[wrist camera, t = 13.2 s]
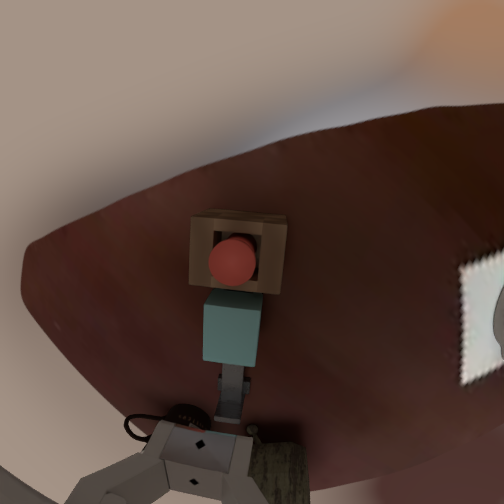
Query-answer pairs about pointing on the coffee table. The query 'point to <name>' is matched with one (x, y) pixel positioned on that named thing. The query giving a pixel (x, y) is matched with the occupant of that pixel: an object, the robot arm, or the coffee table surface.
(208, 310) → the block
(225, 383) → the rail
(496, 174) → the coffee table surface
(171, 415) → the coffee mug
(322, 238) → the coffee table surface
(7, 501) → the robot arm
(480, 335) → the coffee table surface
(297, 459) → the tabletop clock
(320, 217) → the coffee table surface
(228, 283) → the red rounded peg
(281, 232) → the wooden box
